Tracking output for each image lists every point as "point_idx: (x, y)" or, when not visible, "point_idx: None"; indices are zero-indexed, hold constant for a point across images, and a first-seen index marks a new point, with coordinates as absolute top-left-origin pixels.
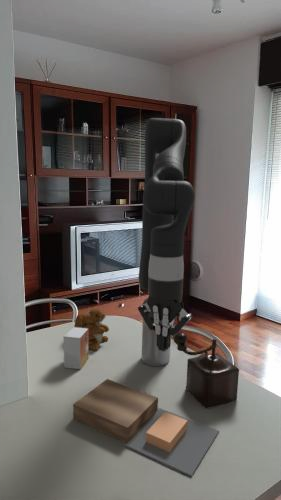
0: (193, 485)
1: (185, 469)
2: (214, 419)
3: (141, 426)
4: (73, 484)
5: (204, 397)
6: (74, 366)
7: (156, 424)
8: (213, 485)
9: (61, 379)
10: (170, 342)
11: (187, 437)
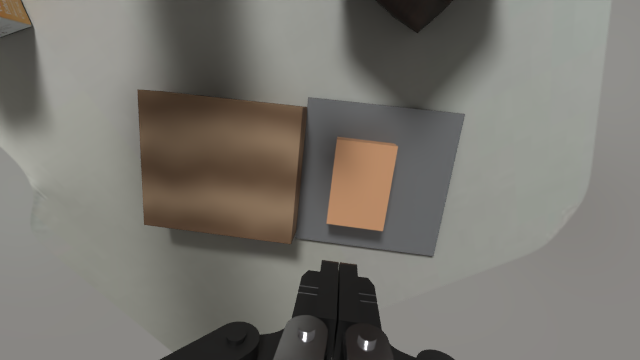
0: (439, 268)
1: (419, 248)
2: (446, 70)
3: (300, 180)
4: (267, 332)
5: (416, 19)
6: (9, 30)
7: (336, 191)
8: (472, 255)
9: (34, 96)
10: (376, 299)
11: (401, 167)
